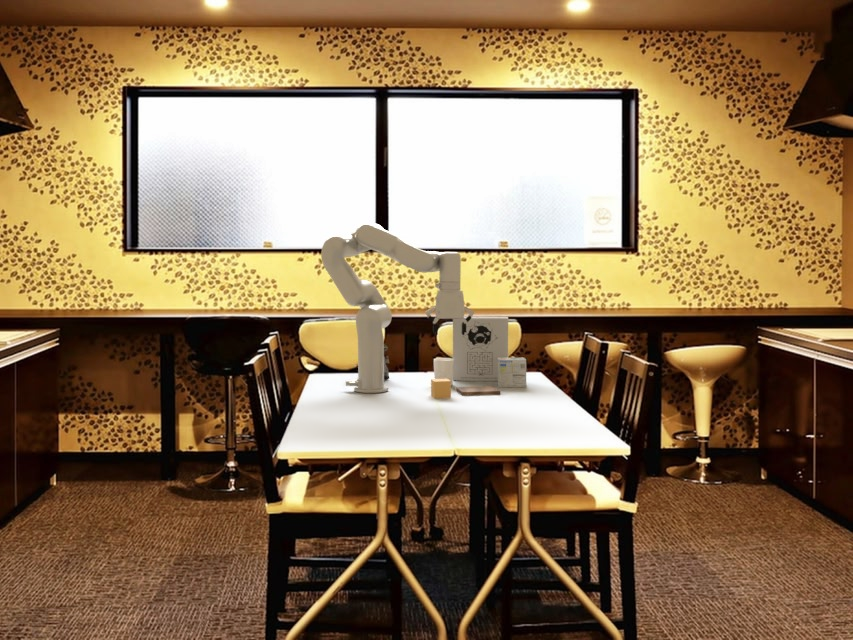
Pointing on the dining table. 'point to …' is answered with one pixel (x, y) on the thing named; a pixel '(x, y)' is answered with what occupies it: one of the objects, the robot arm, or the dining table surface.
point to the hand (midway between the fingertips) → (449, 334)
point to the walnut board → (478, 390)
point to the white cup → (444, 368)
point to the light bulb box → (511, 372)
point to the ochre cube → (440, 388)
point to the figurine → (386, 373)
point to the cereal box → (479, 348)
